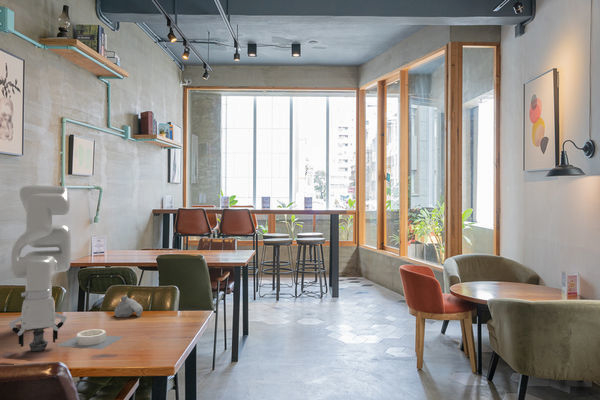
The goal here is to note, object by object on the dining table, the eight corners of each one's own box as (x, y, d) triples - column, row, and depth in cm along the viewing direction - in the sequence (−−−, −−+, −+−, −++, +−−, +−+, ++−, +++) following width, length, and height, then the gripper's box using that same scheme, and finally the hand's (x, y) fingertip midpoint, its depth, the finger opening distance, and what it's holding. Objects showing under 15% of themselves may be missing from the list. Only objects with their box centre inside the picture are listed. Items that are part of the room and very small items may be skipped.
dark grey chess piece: (34, 350, 157) (34, 316, 157) (51, 350, 157) (51, 316, 157) (25, 356, 151) (25, 321, 151) (43, 356, 151) (43, 321, 151)
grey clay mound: (118, 325, 198) (110, 303, 196) (116, 319, 208) (109, 298, 207) (145, 315, 203) (138, 293, 201) (142, 309, 213) (135, 288, 212)
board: (56, 348, 159) (56, 345, 159) (82, 336, 172) (82, 333, 172) (101, 352, 156) (101, 349, 156) (124, 340, 169) (124, 336, 169)
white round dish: (71, 344, 160) (71, 336, 160) (88, 336, 169) (88, 328, 169) (94, 346, 159) (94, 337, 159) (110, 338, 168) (110, 330, 168)
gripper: (8, 299, 147) (7, 350, 147) (67, 294, 155) (66, 342, 155) (10, 295, 153) (9, 344, 153) (66, 290, 162) (65, 337, 162)
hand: (38, 343), depth 154 cm, fingers open, 9 cm apart
